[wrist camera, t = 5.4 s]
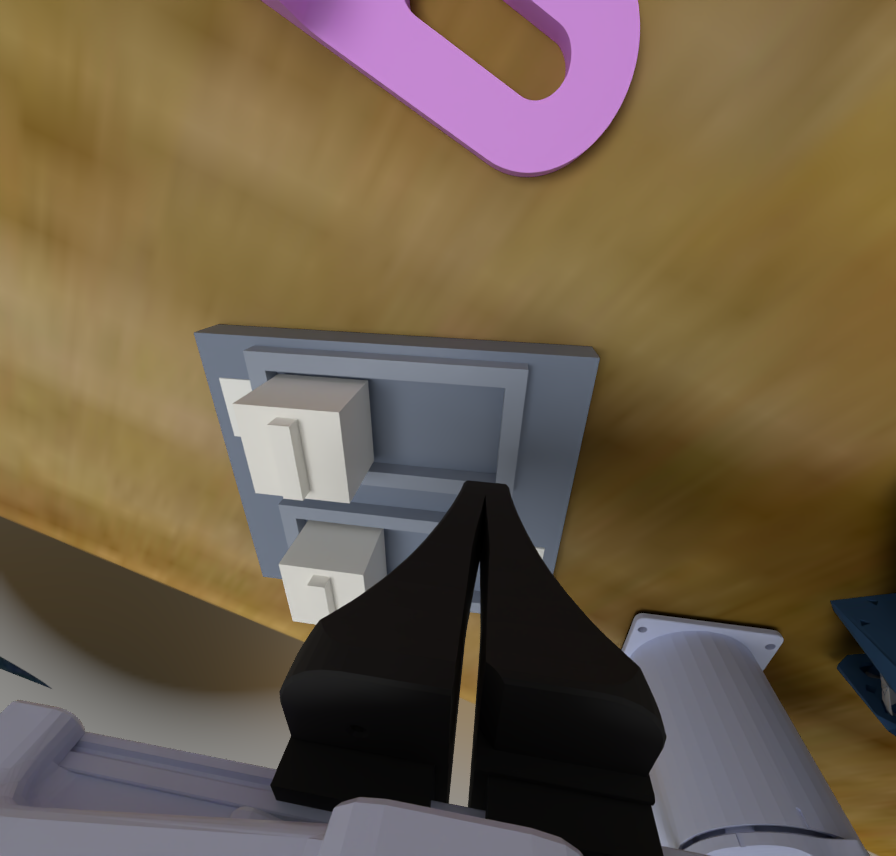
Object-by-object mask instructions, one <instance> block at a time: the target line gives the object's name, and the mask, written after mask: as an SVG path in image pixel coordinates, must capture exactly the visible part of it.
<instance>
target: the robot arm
mask: <svg viewBox="0 0 896 856" xmlns="http://www.w3.org/2000/svg"><path fill="white" fill-rule="evenodd" d="M479 562H480V619H481V633H480V653H479V667H478V681H477V694H476V708H475V721H474V722H475V723H474V734H473V749H472V761H471V775H470V787H469V801H468V807H463V806H458V805H453V804H449V794H450V784H451V774H452V764H453V754H454V744H455V733H456V723H457V714H458V704H459V694H460V684H461V674H462V665H463V655H464V645H465V637H466V630H467V624H468V619H469V614H470V609H471V603H472V598H473V593H474V588H475V583H476V577H477V572H478V567H479ZM783 641H784V639H783V637H782V635H781V634H780V633H779V632H778V631H775V630H770V629H763V628H755V627H747V626H739V625H732V624H724V623H716V622H709V621H701V620H693V619H686V618H678V617H670V616H663V615H655V614H647V613H640V614H637V615H636V616H635V617H634V619H633V622H632V625H631V627H630V630H629V632H628V635H627V638H626V640H625V643H624V645H623V648H622V650H621V649H619V648H618V647H617V646H616V645H615V644H614V643H613V642H612V641H611V640H610V639H608V638H607V637H606V636H605V635H604V634H603V633H602V632H601V631H600V630H599V629H598V628H597V627H596V626H595V625H594V624H593V623H592V621H591V620H590V619H589V618H588V617H587V616H586V615H585V614H584V612H583V611H582V610H581V609H580V608H579V607H578V606H577V604H576V603H575V602H574V601H573V600H572V599H571V597H570V596H569V595H568V594H567V593H566V592H565V590H564V589H563V588H562V586H561V585H560V584H559V582H558V581H557V580H556V578H555V577H554V576H553V574H552V573H551V571H550V570H549V568H548V567H547V566H546V564H545V563H544V561H543V560H542V558H541V556H540V555H539V553H538V551H537V550H536V548H535V546H534V545H533V543H532V541H531V539H530V537H529V536H528V534H527V532H526V530H525V528H524V526H523V524H522V522H521V519H520V517H519V515H518V513H517V510H516V508H515V505H514V503H513V500H512V497H511V494H510V490H509V487H508V486H507V485H506V484H500V483H490V482H480V481H470V480H467V481H466V482H464V483H463V486H462V488H461V490H460V492H459V494H458V496H457V497H456V499H455V501H454V502H453V504H452V505H451V507H450V508H449V510H448V511H447V513H446V514H445V515H444V517H443V518H442V520H441V521H440V522H439V523H438V525H437V526H436V527H435V528H434V529H433V531H432V532H431V533H430V534H429V535H428V537H427V538H426V539H425V540H424V541H423V542H422V543H421V544H420V545H419V546H418V548H417V549H416V550H415V551H414V552H413V553H412V554H410V555H409V556H408V557H407V558H406V559H405V560H404V561H403V562H402V563H401V564H400V565H398V566H397V567H396V568H395V569H394V570H393V571H392V572H390V573H389V574H388V575H387V576H385V577H384V578H383V579H382V580H380V581H379V582H378V583H376V584H375V585H373V586H372V587H371V588H369V589H368V590H367V591H365V592H364V593H362V594H361V595H360V596H358V597H357V598H355V599H354V600H352V601H351V602H349V603H347V604H346V605H344V606H342V607H341V608H339V609H337V610H336V611H334V612H332V613H331V614H329V615H327V616H326V617H324V618H322V619H320V620H319V621H318V623H317V624H316V626H315V627H314V629H313V630H312V632H311V633H310V635H309V636H308V638H307V639H306V641H305V642H304V644H303V646H302V647H301V649H300V651H299V652H298V654H297V656H296V658H295V660H294V662H293V664H292V666H291V668H290V670H289V672H288V674H287V676H286V679H285V681H284V683H283V685H282V687H281V690H280V701H281V705H282V708H283V711H284V714H285V717H286V720H287V724H288V727H289V730H290V733H291V738H290V740H289V743H288V745H287V748H286V750H285V752H284V754H283V756H282V759H281V761H280V763H279V766H278V768H277V769H271V768H267V767H262V766H256V765H252V764H246V763H241V762H236V761H231V760H226V759H221V758H216V757H211V756H206V755H201V754H196V753H191V752H186V751H181V750H176V749H171V748H166V747H161V746H156V745H151V744H145V743H141V742H136V741H131V740H125V739H120V738H115V737H110V736H105V735H100V734H95V733H90V732H85V728H84V726H83V725H82V723H81V721H80V720H79V719H78V718H77V717H76V716H75V715H74V714H73V713H71V712H69V711H67V710H65V709H62V708H58V707H54V706H49V705H43V704H38V703H33V702H27V701H23V700H17V701H13V702H12V703H11V704H10V705H8V706H7V707H6V708H5V709H4V710H3V711H2V712H1V713H0V856H870V854H869V853H868V852H867V850H866V849H865V848H864V846H863V844H862V843H861V841H860V839H859V837H858V836H857V834H856V832H855V830H854V829H853V827H852V825H851V823H850V822H849V820H848V818H847V817H846V815H845V813H844V811H843V810H842V808H841V806H840V804H839V803H838V801H837V799H836V797H835V796H834V794H833V792H832V791H831V789H830V787H829V785H828V784H827V782H826V780H825V778H824V777H823V775H822V773H821V771H820V770H819V768H818V766H817V765H816V763H815V761H814V759H813V758H812V756H811V754H810V752H809V751H808V749H807V747H806V746H805V744H804V742H803V740H802V739H801V737H800V735H799V733H798V732H797V730H796V728H795V726H794V725H793V723H792V721H791V720H790V718H789V716H788V714H787V713H786V711H785V709H784V707H783V706H782V704H781V702H780V700H779V699H778V697H777V695H776V694H775V692H774V690H773V688H772V687H771V685H770V683H769V681H768V680H767V678H766V676H765V674H764V673H763V670H764V669H765V667H766V666H767V664H768V663H769V662H770V660H771V659H772V657H773V656H774V654H775V653H776V651H777V650H778V649H779V647H780V646H781V644H782V643H783Z"/></svg>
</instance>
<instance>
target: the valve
mask: <svg viewBox="0 0 896 856" xmlns="http://www.w3.org/2000/svg"><path fill="white" fill-rule="evenodd" d="M831 604H832V608H833V610H834V612H835V613H836V614H837V616H838V617H839V618H840V620H841V621H842V622H843V624H844V625H845V626H846V628H847V629H848V630H849V632H850V633H851V634H852V636H853V637H854V639H855V640H856V641H857V643H858V644H859V645H860V647H861V648H862V649H863V651H864V652H865V653H866V654H853V655H847V656H846V657H845V658H844V659H843V660H842V661H841V662H840V663H839V664H838V666H837V669H838V671H839V672H840V673H841V674H842V675H843V677H844V678H845V679H846V680H847V682H848V683H849V684H850V685H851V686H852V688H853V689H854V690H855V691H856V693H857V694H858V695H859V696H860V697H861V699H862V700H863V701H864V702H865V704H866V705H867V706H868V707H869V708H870V710H871V711H872V712H873V713H874V714H875V716H876V717H877V718H878V719H879V721H880V722H881V723H882V724H883V725H884V727H885V728H886V729H887V730H888V731H889V732H891V733H892V734H893V735H895V736H896V593H892V594H883V595H875V596H866V597H858V598H849V599H840V600H832V601H831Z"/></svg>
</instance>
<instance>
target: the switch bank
mask: <svg viewBox="0 0 896 856" xmlns="http://www.w3.org/2000/svg"><path fill="white" fill-rule="evenodd" d="M194 335H195V339H196V343H197V346H198V350H199V353H200V357H201V360H202V364H203V367H204V371H205V374H206V378H207V381H208V385H209V388H210V392H211V395H212V399H213V402H214V406H215V409H216V413H217V416H218V420H219V423H220V427H221V430H222V434H223V437H224V441H225V444H226V448H227V451H228V455H229V458H230V462H231V465H232V469H233V472H234V476H235V479H236V483H237V486H238V490H239V493H240V497H241V500H242V504H243V507H244V511H245V514H246V518H247V521H248V525H249V529H250V532H251V536H252V539H253V543H254V546H255V550H256V553H257V557H258V560H259V564H260V567H261V571H262V574H263V577H271V578H278V579H282V576H281V572H280V568H279V563H280V561H281V560H282V558H283V557H284V555H285V554H286V552H287V551H288V549H289V548H290V546H291V545H292V544H293V542H294V541H295V539H296V538H297V536H298V535H299V533H300V532H301V530H302V529H303V527H304V526H305V524H306V523H307V521H308V520H314V521H322V522H331V523H340V524H348V525H357V526H366V527H374V528H383V529H384V540H385V555H386V569H387V575H388V574H389V573H390V572H392V571H393V570H394V569H395V568H396V567H397V566H398V565H400V564H401V563H402V562H403V561H404V560H405V559H406V558H407V557H408V556H409V555H410V554H412V553H413V552H414V551H415V550H416V549H417V548H418V546H419V545H420V544H421V543H422V542H423V541H424V540H425V539H426V538H427V537H428V535H429V534H430V533H431V532H432V531H433V529H434V528H435V527H436V526H437V525H438V523H439V522H440V521H441V520H442V518H443V517H444V515H445V514H446V513H447V511H448V510H449V508H450V507H451V505H452V504H453V502H454V501H455V499H456V497H457V496H458V494H459V492H460V490H461V488H462V486H463V483H464V482H466V481H467V480H470V481H480V482H490V483H500V484H506V485H507V486H508V487H509V490H510V494H511V497H512V500H513V503H514V505H515V508H516V510H517V513H518V515H519V517H520V519H521V522H522V524H523V526H524V528H525V530H526V532H527V534H528V536H529V537H530V539H531V541H532V543H533V545H534V546H535V548H536V550H537V551H538V553H539V555H540V556H541V558H542V560H543V561H544V563H545V564H546V566H547V567H548V568H549V570H550V571H551V573H552V574H553V572H554V568H555V563H556V558H557V554H558V549H559V545H560V540H561V535H562V531H563V526H564V521H565V517H566V512H567V508H568V503H569V498H570V494H571V489H572V484H573V480H574V475H575V471H576V466H577V461H578V457H579V452H580V447H581V443H582V438H583V434H584V429H585V424H586V420H587V415H588V410H589V406H590V401H591V397H592V392H593V387H594V383H595V378H596V373H597V369H598V364H599V360H600V357H599V356H598V355H597V353H596V352H595V350H594V349H593V348H592V347H590V346H573V345H557V344H540V343H523V342H506V341H489V340H473V339H456V338H439V337H422V336H406V335H389V334H372V333H355V332H338V331H322V330H305V329H288V328H271V327H255V326H238V325H221V324H218V325H215V326H212V327H209V328H206V329H203V330H200V331H197V332H194ZM278 374H288V375H301V376H315V377H328V378H342V379H356V380H368V387H369V400H370V413H371V425H372V438H373V451H374V462H373V463H372V465H371V467H370V469H369V470H368V472H367V474H366V476H365V478H364V479H363V481H362V483H361V485H360V486H359V488H358V490H357V492H356V493H355V495H354V497H353V499H352V500H351V502H350V503H341V502H332V501H323V500H314V499H304V500H303V501H301V500H292V499H283V496H277V495H268V494H259V493H255V489H254V485H253V482H252V478H251V474H250V470H249V466H248V462H247V459H246V455H245V451H244V447H243V443H242V439H241V436H240V432H239V428H238V424H237V420H236V416H235V413H234V409H233V405H232V403H234V402H236V401H237V400H239V399H240V398H242V397H243V396H245V395H246V394H248V393H250V392H251V391H253V390H254V389H256V388H257V387H259V386H260V385H262V384H264V383H265V382H267V381H268V380H270V379H271V378H273V377H274V376H276V375H278ZM470 612H474V613H480V562H479V567H478V572H477V577H476V583H475V588H474V593H473V598H472V603H471V609H470Z"/></svg>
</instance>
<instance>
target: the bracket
mask: <svg viewBox="0 0 896 856" xmlns="http://www.w3.org/2000/svg"><path fill="white" fill-rule="evenodd" d="M261 1H262V2H264V3H265V4H267V5H268V6H269V7H271V8H272V9H273V10H275V11H276V12H278V13H279V14H280V15H282V16H283V17H285V18H286V19H287V20H289V21H290V22H291V23H293V24H294V25H296V26H297V27H298V28H300V29H301V30H303V31H304V32H305V33H307V34H308V35H309V36H311V37H312V38H314V39H315V40H316V41H318V42H319V43H321V44H322V45H323V46H325V47H326V48H327V49H329V50H330V51H332V52H333V53H334V54H336V55H337V56H339V57H340V58H341V59H343V60H344V61H346V62H347V63H348V64H350V65H351V66H352V67H354V68H355V69H357V70H358V71H359V72H361V73H362V74H364V75H365V76H366V77H368V78H369V79H370V80H372V81H373V82H375V83H376V84H377V85H379V86H380V87H382V88H383V89H384V90H386V91H387V92H388V93H390V94H391V95H393V96H394V97H395V98H397V99H398V100H400V101H401V102H402V103H404V104H405V105H406V106H408V107H409V108H411V109H412V110H413V111H415V112H416V113H418V114H419V115H420V116H422V117H423V118H425V119H426V120H427V121H429V122H430V123H431V124H433V125H434V126H436V127H437V128H438V129H440V130H441V131H443V132H444V133H445V134H447V135H448V136H449V137H451V138H452V139H454V140H455V141H456V142H458V143H459V144H461V145H462V146H463V147H465V148H466V149H467V150H469V151H470V152H472V153H473V154H474V155H476V156H477V157H479V158H480V159H481V160H483V161H484V162H485V163H487V164H488V165H490V166H491V167H493V168H495V169H496V170H498V171H501V172H503V173H506V174H509V175H513V176H518V177H536V176H541V175H546V174H549V173H552V172H555V171H557V170H559V169H561V168H563V167H565V166H566V165H568V164H570V163H571V162H573V161H574V160H575V159H577V158H578V157H579V156H580V155H581V154H583V153H584V152H585V151H586V150H587V149H588V148H589V147H590V146H591V145H592V144H593V143H594V142H595V141H596V140H597V139H598V138H599V137H600V136H601V135H602V133H603V132H604V131H605V129H606V128H607V127H608V126H609V124H610V123H611V121H612V120H613V118H614V117H615V115H616V113H617V112H618V110H619V108H620V106H621V104H622V102H623V100H624V98H625V96H626V93H627V91H628V89H629V86H630V83H631V80H632V77H633V73H634V69H635V65H636V61H637V55H638V49H639V39H640V16H639V5H638V0H503V1H504V2H506V3H507V4H508V5H509V6H511V7H512V8H513V9H514V10H516V11H517V12H518V13H519V14H521V15H522V16H523V17H524V18H526V19H527V20H528V21H529V22H531V23H532V24H533V25H534V26H536V27H537V28H538V29H539V30H541V31H542V32H543V33H544V34H546V35H547V36H548V37H549V38H551V39H552V40H553V41H554V42H556V43H557V44H558V46H559V47H560V49H561V50H562V52H563V55H564V58H565V64H566V73H565V80H564V82H563V83H562V85H561V86H560V87H559V89H558V90H557V91H556V92H555V93H553V94H552V95H551V96H549V97H547V98H545V99H542V100H538V101H532V100H527V99H525V98H523V97H521V96H520V95H519V94H517V93H516V92H515V91H513V90H512V89H511V88H509V87H508V86H507V85H505V84H504V83H503V82H502V81H500V80H499V79H498V78H496V77H495V76H494V75H492V74H491V73H490V72H488V71H487V70H486V69H484V68H483V67H482V66H481V65H479V64H478V63H477V62H475V61H474V60H473V59H471V58H470V57H469V56H467V55H466V54H465V53H463V52H462V51H461V50H460V49H458V48H457V47H456V46H454V45H453V44H452V43H450V42H449V41H448V40H446V39H445V38H444V37H442V36H441V35H440V34H438V33H437V32H436V31H435V30H433V29H432V28H431V27H429V26H428V25H427V24H425V23H424V22H423V21H421V20H420V19H419V18H417V17H416V16H415V15H414V14H413V13H412V12H411V10H410V0H261Z"/></svg>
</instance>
